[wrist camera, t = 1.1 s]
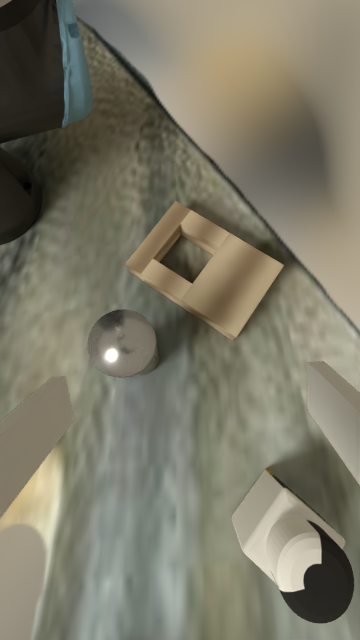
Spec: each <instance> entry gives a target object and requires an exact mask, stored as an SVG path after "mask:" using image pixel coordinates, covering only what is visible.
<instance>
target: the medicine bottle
mask: <svg viewBox="0 0 360 640" xmlns="http://www.w3.org/2000/svg"><path fill="white" fill-rule="evenodd" d="M232 522H233V524H234V527H235V530H236V533H237V536H238V539H239V541H240V544H241V547H242V550H243V552H244V553H245V554H246V555H247V556H248V557H249V558H250V559H251V560H252V561H253V562H254V563H255V564H256V565H257V566H258V567H260V568H261V569H262V570H263V571H264V572H265V573H266V574H267V575H268V576H269V577H270V578H271V579H272V580H273V581H274V582H275V583H276V584H277V586H278V588H279V590H280V592H281V594H282V596H283V598H284V600H285V602H286V603H287V605H288V606H289V607H290V608H291V609H292V611H293V612H294V613H296V614H297V615H298V616H300V617H301V618H303V619H305V620H307V621H309V622H313V623H328V622H331V621H334V620H336V619H337V618H339V617H340V616H341V615H342V614H343V613H344V612H345V611H346V610H347V608H348V606H349V604H350V602H351V599H352V596H353V591H354V577H353V571H352V567H351V565H350V562H349V560H348V558H347V556H346V554H345V553H344V551H343V550H342V548H343V547H344V545H345V540H344V538H343V537H342V536H341V535H340V534H339V533H338V532H337V531H336V530H334V529H333V528H332V527H331V526H330V525H329V524H328V523H327V522H326V521H325V520H324V519H323V518H322V517H321V516H320V515H319V514H318V513H317V512H315V511H314V510H313V509H312V508H311V507H310V506H309V505H308V504H307V503H305V502H304V501H303V500H302V499H301V498H300V497H299V496H297V495H296V494H295V493H294V492H293V491H292V490H291V489H289V488H288V487H287V486H286V485H285V484H284V483H283V482H281V481H280V480H279V479H278V478H277V477H276V476H275V475H273V474H272V473H271V472H270V471H269V470H267V469H266V470H264V471H263V473H262V474H261V475H260V477H259V478H258V480H257V481H256V483H255V484H254V485H253V487H252V488H251V490H250V491H249V492H248V494H247V495H246V497H245V498H244V500H243V501H242V502H241V504H240V505H239V507H238V508H237V510H236V511H235V512H234V514H233V515H232Z"/></svg>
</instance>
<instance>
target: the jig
mask: <svg viewBox="0 0 360 640" xmlns="http://www.w3.org/2000/svg"><path fill="white" fill-rule="evenodd" d="M180 235H181V236H183V237H185V238H186V239H188V240H189V241H191V242H193V243H194V244H196V245H198V246H199V247H201V248H202V249H204V250H206V251H207V252H209V253H211V254H212V255H213V257H212V258H211V259H210V261H209V262H208V263H207V265H206V266H205V267H204V269H203V270H202V272H201V273H200V274H199V276H198V277H197V278H196V280H195V281H194V282H193V284H192V283H190V282H188V281H187V280H185V279H184V278H182V277H181V276H179V275H178V274H176V273H174V272H173V271H171V270H170V269H168V268H167V267H165V266H164V265H162V264H161V263H159V262H160V261H161V260H162V259H163V257H164V256H165V255H166V253H167V252H168V251H169V250H170V248H171V247H172V246H173V244H174V243H175V242H176V241H177V239H178V238H179V237H180ZM126 265H127V267H128V269H129V271H130V273H132V274H133V275H135V276H136V277H138V278H139V279H141V280H142V281H144V282H145V283H147V284H148V285H150V286H151V287H153V288H154V289H156V290H157V291H159V292H160V293H162V294H163V295H165V296H166V297H168V298H169V299H171V300H172V301H174V302H175V303H177V304H178V305H180V306H181V307H183V308H184V309H186V310H187V311H189V312H190V313H192V314H193V315H195V316H196V317H198V318H199V319H201V320H202V321H204V322H205V323H207V324H208V325H210V326H211V327H213V328H214V329H216V330H217V331H219V332H220V333H222V334H224V335H225V336H227V337H228V338H230V339H231V340H234V339H235V338H236V337H237V336H238V334H239V333H240V331H241V329H242V328H243V326H244V325H245V323H246V322H247V320H248V319H249V317H250V316H251V314H252V313H253V311H254V310H255V308H256V307H257V305H258V304H259V302H260V301H261V299H262V298H263V296H264V295H265V293H266V292H267V290H268V289H269V287H270V286H271V284H272V283H273V281H274V280H275V278H276V277H277V275H278V274H279V272H280V271H281V269H282V267H283V266H284V265H283V264H281V263H279V262H278V261H276V260H274V259H273V258H271V257H269V256H268V255H266V254H264V253H263V252H261V251H259V250H258V249H256V248H254V247H252V246H251V245H249V244H247V243H246V242H244V241H242V240H241V239H239V238H237V237H236V236H234V235H232V234H231V233H229V232H227V231H226V230H224V229H222V228H220V227H219V226H217V225H215V224H214V223H212V222H210V221H209V220H207V219H205V218H204V217H202V216H200V215H199V214H197V213H195V212H194V211H192V210H190V209H188V208H187V207H185V206H183V205H182V204H180V203H178V202H177V201H175V203H174V204H173V205H172V206H171V208H170V209H169V210H168V211H167V212H166V214H165V215H164V216H163V217H162V219H161V220H160V221H159V222H158V224H157V225H156V226H155V227H154V229H153V230H152V231H151V232H150V234H149V235H148V236H147V237H146V239H145V240H144V241H143V242H142V243H141V245H140V246H139V247H138V248H137V250H136V251H135V252H134V253H133V255H132V256H131V257H130V258H129V260H128V261H127V262H126Z"/></svg>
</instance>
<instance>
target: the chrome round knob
mask: <svg viewBox="0 0 360 640" xmlns="http://www.w3.org/2000/svg"><path fill="white" fill-rule="evenodd" d="M88 353H89V356H90V359H91V361H92V362H93V364H94V365H95V366H96V368H97V369H99V370H100V371H101V372H103V373H105V374H107V375H109V376H113V377H119V378H126V377H131V376H134V375H137V374H139V375H144V374H148V373H150V372H151V371H153V370H154V369H155V368H156V366H157V364H158V362H159V351H158V349H157V339H156V334H155V332H154V330H153V328H152V326H151V324H150V323H149V321H148V320H147V319H146V318H145V317H144V316H142V315H141V314H139V313H137V312H135V311H131V310H116V311H112V312H110V313H108V314H106V315H104V316H103V317H101V318H100V319H99V320H98V321H97V322H96V323H95V325H94V326H93V328H92V329H91V331H90V334H89V338H88Z"/></svg>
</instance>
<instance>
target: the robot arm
mask: <svg viewBox="0 0 360 640" xmlns="http://www.w3.org/2000/svg"><path fill="white" fill-rule="evenodd" d="M92 105H93V97H92V89H91V82H90V77H89V71H88V66H87V61H86V56H85V52H84V47H83V43H82V39H81V36H80V34H79V28H78V24H77V19H76V14H75V10H74V6H73V2H72V0H0V144H1V143H5V142H8V141H12V140H16V139H19V138H23V137H27V136H30V135H34V134H38V133H41V132H45V131H49V130H52V129H56V128H61V129H62V128H64V127H66V126H67V124H70V123H73V122H76V121H79V120H82V119H84V118H86V117H87V116H88V115H89V113H90V112H91V110H92ZM41 202H42V194H41V189H40V186H39V184H38V182H37V181H36V179H35V178H34V176H33V175H32V174H31V172H30V171H29V170H28V168H27V167H26V166H25V165H24V164H22V163H21V162H20V161H19V160H17V159H16V158H14V157H13V156H12V155H10V154H9V153H8V152H6V151H5V150H3V149H2V148H1V147H0V245H1V244H4V243H7V242H9V241H12V240H14V239H15V238H17V237H19V236H20V235H22V234H23V233H24V232H25V231H26V230H27V229H28V228H29V227H30V226H31V225H32V224H33V222H34V221H35V219H36V218H37V216H38V213H39V211H40V208H41ZM307 410H308V411H309V413H310V414H311V416H312V417H313V418H314V420H315V421H316V423H317V424H318V426H319V427H320V429H321V430H322V432H323V433H324V434H325V436H326V437H327V439H328V440H329V442H330V443H331V445H332V446H333V447H334V449H335V450H336V452H337V453H338V455H339V456H340V458H341V459H342V460H343V462H344V463H345V465H346V466H347V468H348V469H349V471H350V472H351V473H352V475H353V476H354V478H355V479H356V481H357V482H358V484H359V485H360V392H359V391H357V390H356V389H355V388H354V387H353V386H352V385H350V384H349V383H348V382H347V381H346V380H345V379H344V378H342V377H341V376H340V375H339V374H338V373H337V372H336V371H334V370H333V369H332V368H331V367H330V366H329V365H327V364H326V363H325V362H324V361H318V362H308V405H307ZM73 421H74V415H73V410H72V405H71V400H70V395H69V390H68V385H67V380H66V376H59V377H52V378H51V379H50V380H48V381H47V382H46V383H45V384H44V385H42V386H41V387H40V388H39V389H38V390H36V391H35V392H34V393H33V394H32V395H30V396H29V397H28V398H27V399H26V400H25V401H23V402H22V403H21V404H20V405H19V406H17V407H16V408H15V409H14V410H13V411H11V412H10V413H9V414H8V415H7V416H5V417H4V418H3V419H2V420H1V421H0V518H1V517H2V516H3V514H4V513H5V512H6V510H7V509H8V508H9V506H10V505H11V504H12V502H13V501H14V500H15V498H16V497H17V496H18V494H19V493H20V492H21V490H22V489H23V488H24V486H25V485H26V484H27V482H28V481H29V480H30V478H31V477H32V476H33V474H34V473H35V472H36V470H37V469H38V468H39V466H40V465H41V464H42V462H43V461H44V460H45V458H46V457H47V456H48V454H49V453H50V452H51V450H52V449H53V448H54V446H55V445H56V444H57V442H58V441H59V440H60V438H61V437H62V436H63V434H64V433H65V432H66V430H67V429H68V428H69V426H70V425H71V424H72V422H73Z"/></svg>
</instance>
